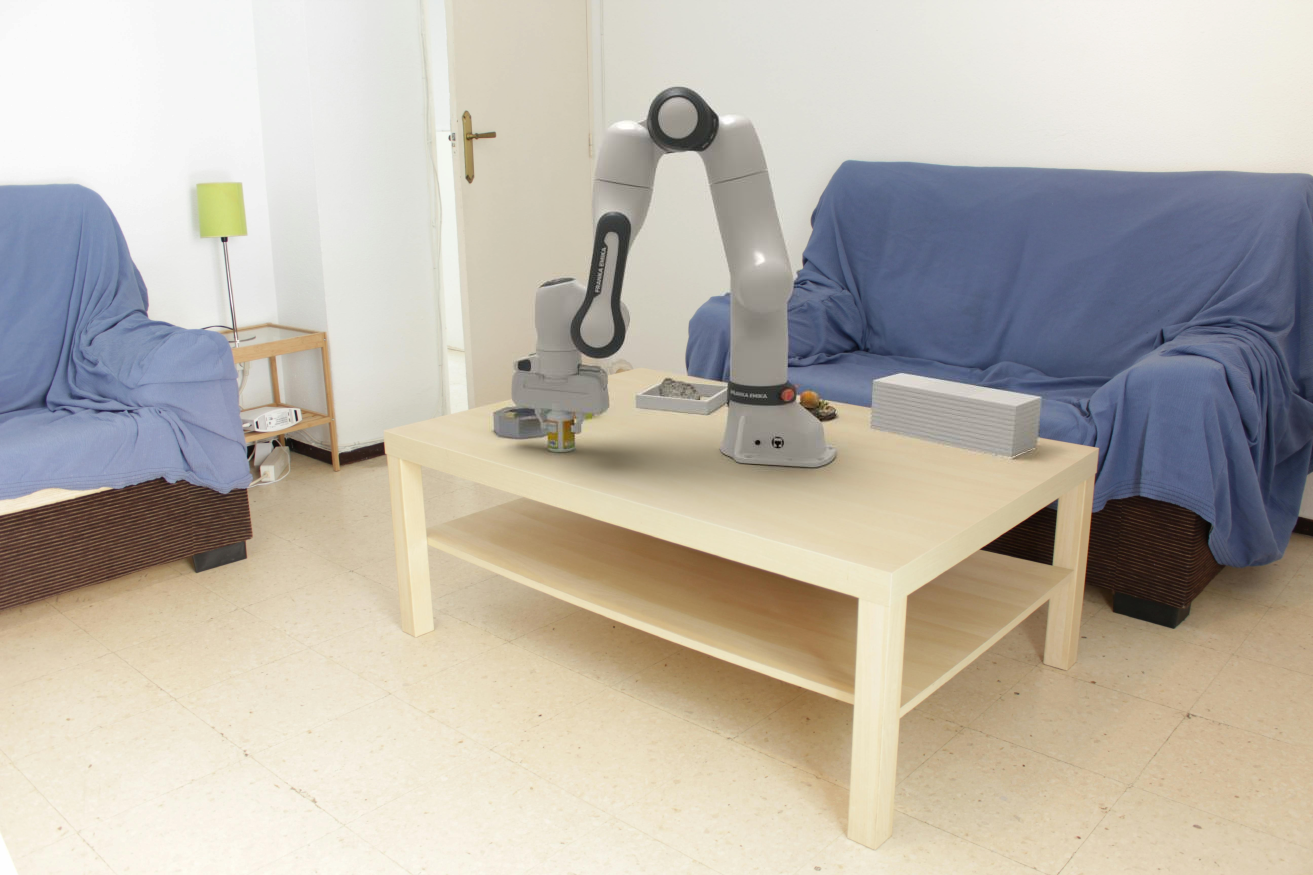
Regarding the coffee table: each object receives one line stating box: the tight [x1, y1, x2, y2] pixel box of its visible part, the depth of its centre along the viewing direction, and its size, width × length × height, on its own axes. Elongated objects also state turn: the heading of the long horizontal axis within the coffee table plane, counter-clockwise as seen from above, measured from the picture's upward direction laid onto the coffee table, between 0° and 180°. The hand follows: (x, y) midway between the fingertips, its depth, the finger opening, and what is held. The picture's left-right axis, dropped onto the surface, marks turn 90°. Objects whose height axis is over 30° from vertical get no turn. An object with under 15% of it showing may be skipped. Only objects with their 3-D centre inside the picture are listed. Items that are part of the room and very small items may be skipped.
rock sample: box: [658, 377, 701, 400], centre depth 234 cm, size 11×8×9 cm
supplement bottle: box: [546, 403, 576, 453], centre depth 198 cm, size 5×5×10 cm
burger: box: [798, 389, 837, 423], centre depth 225 cm, size 12×12×8 cm
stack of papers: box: [870, 372, 1043, 457], centre depth 206 cm, size 32×11×11 cm, turn 44°
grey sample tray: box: [635, 380, 728, 416], centre depth 237 cm, size 18×18×3 cm
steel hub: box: [492, 405, 551, 440], centre depth 212 cm, size 12×12×5 cm
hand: (561, 431), depth 199 cm, fingers closed on supplement bottle, 5 cm apart
